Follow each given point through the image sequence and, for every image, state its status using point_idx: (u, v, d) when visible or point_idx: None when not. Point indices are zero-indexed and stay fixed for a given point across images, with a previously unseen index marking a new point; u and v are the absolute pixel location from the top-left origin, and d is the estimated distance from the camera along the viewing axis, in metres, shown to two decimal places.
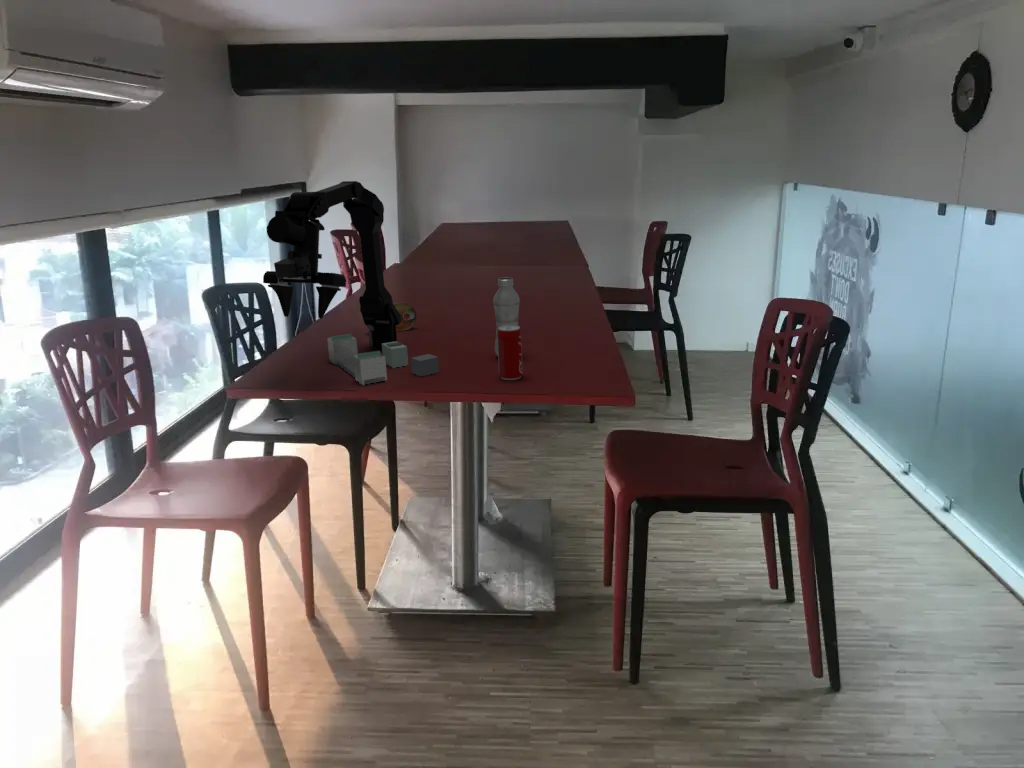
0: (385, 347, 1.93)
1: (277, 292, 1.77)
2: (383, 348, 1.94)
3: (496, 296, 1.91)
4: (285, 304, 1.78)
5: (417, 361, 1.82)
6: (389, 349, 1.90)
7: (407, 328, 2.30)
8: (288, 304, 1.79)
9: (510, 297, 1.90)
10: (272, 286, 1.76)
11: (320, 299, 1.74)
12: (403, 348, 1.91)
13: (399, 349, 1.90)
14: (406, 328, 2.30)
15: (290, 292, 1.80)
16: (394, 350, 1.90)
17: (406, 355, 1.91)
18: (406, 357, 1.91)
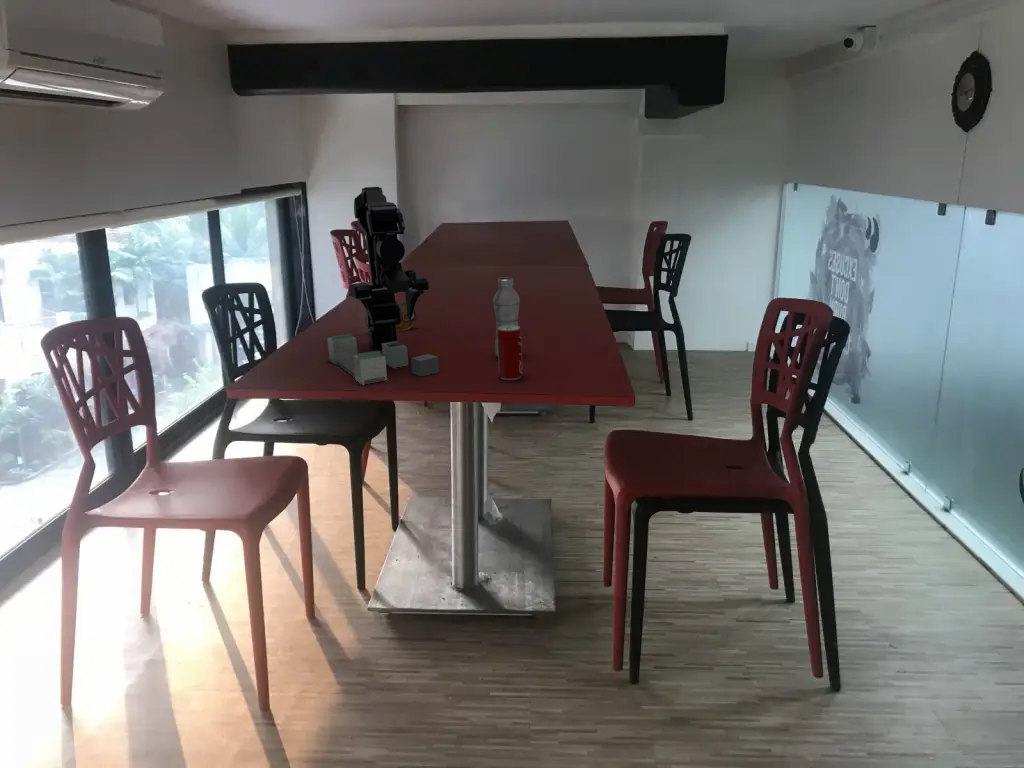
0: (385, 347, 1.93)
1: (368, 304, 1.86)
2: (383, 348, 1.94)
3: (496, 296, 1.91)
4: None
5: (417, 361, 1.82)
6: (389, 349, 1.90)
7: (407, 328, 2.30)
8: None
9: (510, 297, 1.90)
10: (367, 300, 1.84)
11: (413, 303, 1.91)
12: (403, 348, 1.91)
13: (399, 349, 1.90)
14: (406, 328, 2.30)
15: None
16: (394, 350, 1.89)
17: (406, 355, 1.91)
18: (406, 357, 1.91)
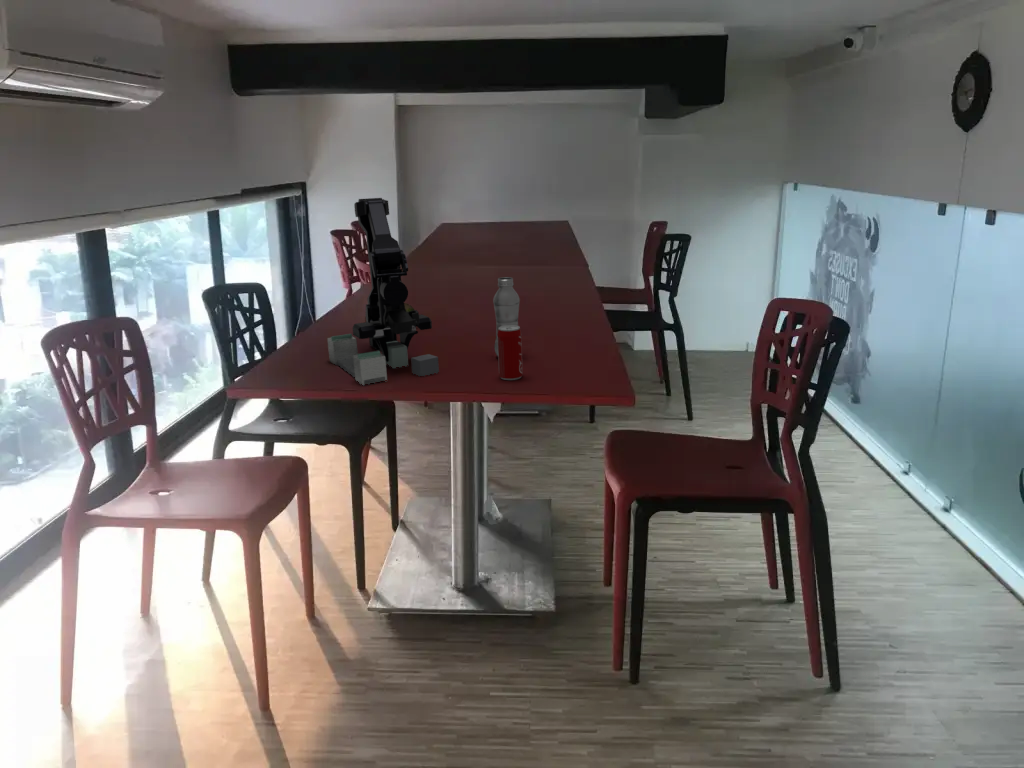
0: None
1: (382, 342, 1.89)
2: None
3: (496, 296, 1.91)
4: None
5: (417, 361, 1.82)
6: (389, 349, 1.90)
7: None
8: None
9: (510, 297, 1.90)
10: (381, 338, 1.88)
11: (407, 343, 1.93)
12: (403, 348, 1.90)
13: (399, 349, 1.90)
14: None
15: None
16: (394, 350, 1.89)
17: (406, 355, 1.91)
18: (406, 357, 1.91)
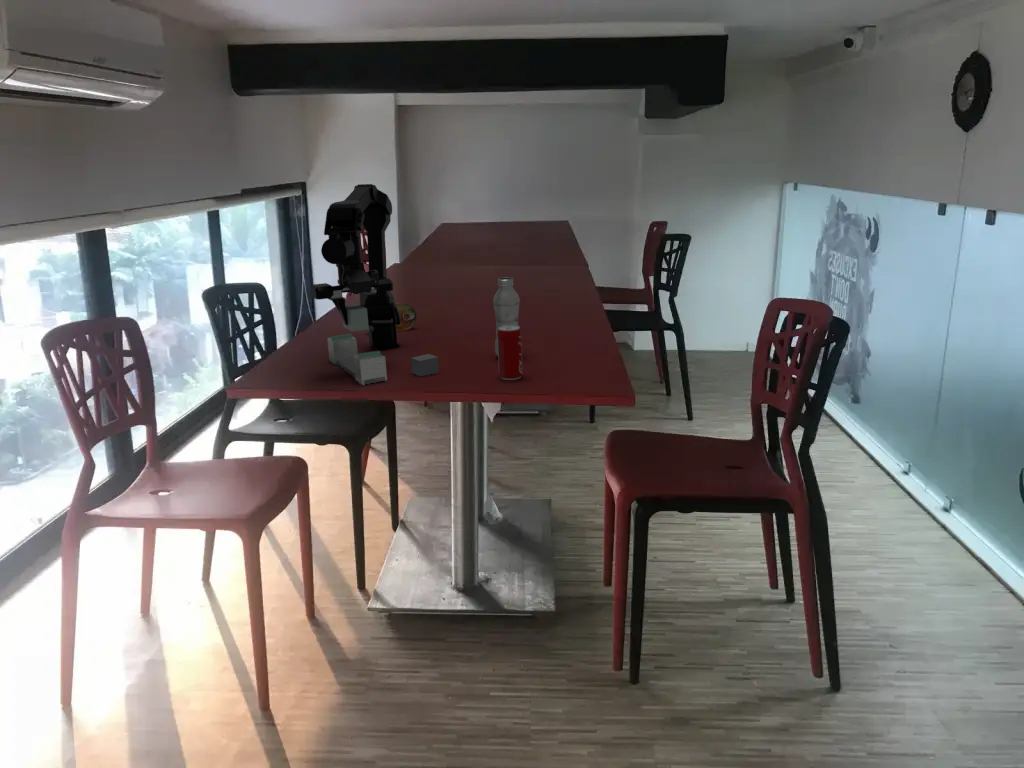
0: None
1: (340, 304, 1.82)
2: None
3: (496, 296, 1.91)
4: None
5: (417, 361, 1.82)
6: (348, 311, 1.83)
7: (407, 328, 2.30)
8: None
9: (510, 297, 1.90)
10: (339, 300, 1.80)
11: (367, 305, 1.86)
12: (363, 310, 1.83)
13: (358, 311, 1.82)
14: (406, 328, 2.30)
15: None
16: (353, 312, 1.82)
17: (366, 317, 1.84)
18: (366, 319, 1.84)
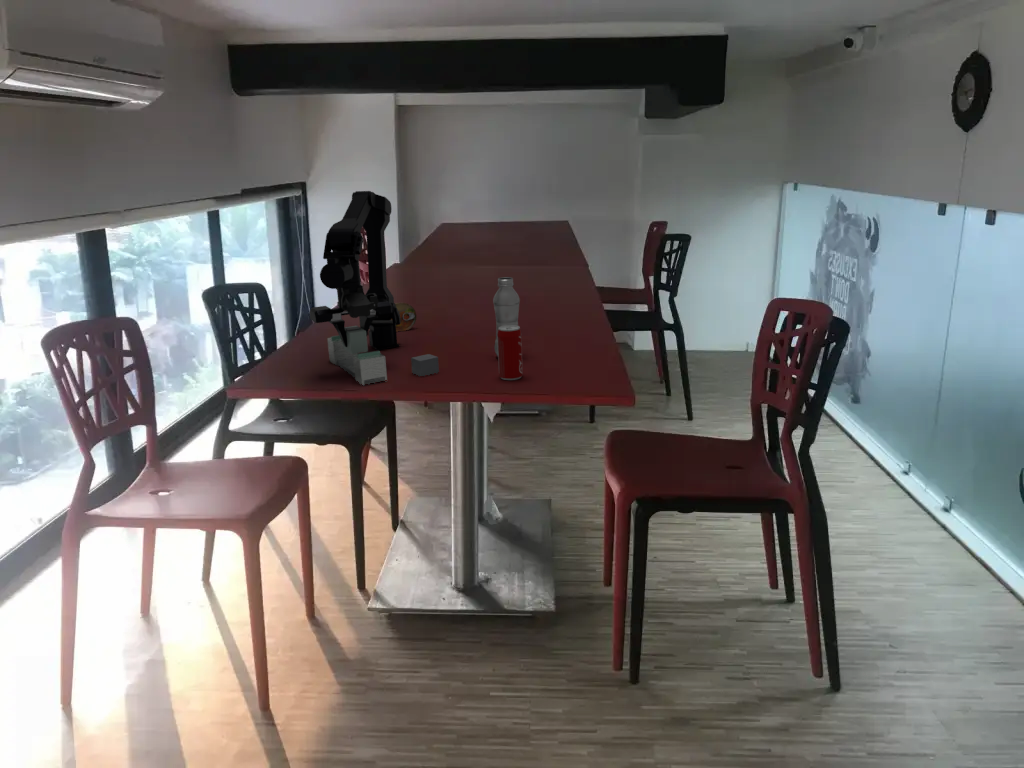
0: None
1: (340, 327, 1.83)
2: None
3: (496, 296, 1.91)
4: None
5: (417, 361, 1.82)
6: (347, 333, 1.84)
7: (407, 328, 2.30)
8: None
9: (510, 297, 1.90)
10: (338, 323, 1.82)
11: (366, 327, 1.87)
12: (362, 332, 1.84)
13: (358, 333, 1.84)
14: (406, 328, 2.30)
15: None
16: (352, 334, 1.83)
17: (365, 339, 1.85)
18: (365, 342, 1.85)
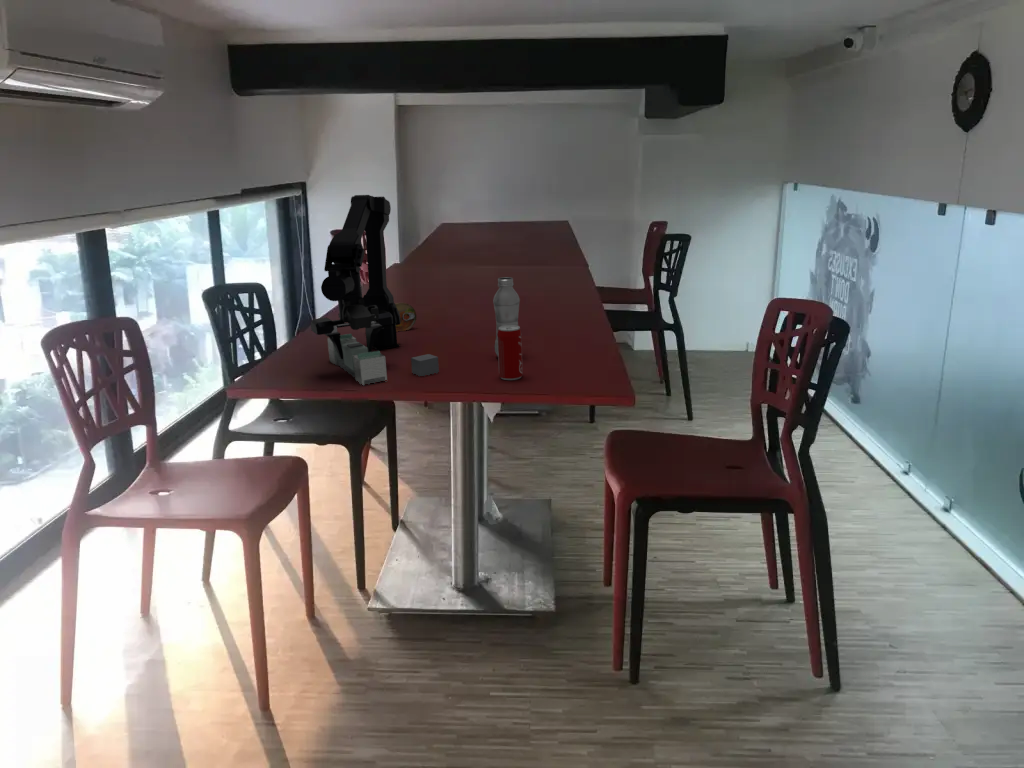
0: (345, 348, 1.88)
1: (335, 339, 1.84)
2: (343, 349, 1.90)
3: (496, 296, 1.91)
4: None
5: (417, 361, 1.82)
6: (349, 350, 1.86)
7: (407, 328, 2.30)
8: None
9: (510, 297, 1.90)
10: (334, 335, 1.82)
11: (372, 338, 1.88)
12: (363, 349, 1.86)
13: (359, 350, 1.85)
14: (406, 328, 2.30)
15: None
16: (354, 351, 1.85)
17: None
18: None
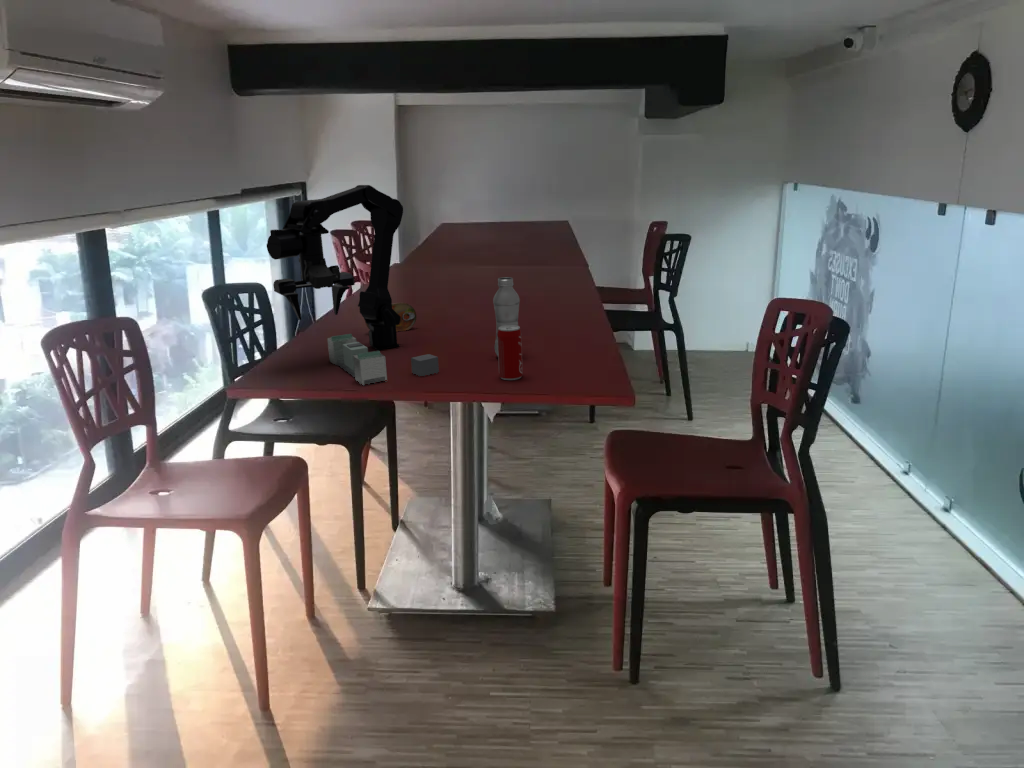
0: (345, 348, 1.88)
1: (293, 300, 1.88)
2: (343, 349, 1.90)
3: (496, 296, 1.91)
4: None
5: (417, 361, 1.82)
6: (349, 350, 1.86)
7: (407, 328, 2.30)
8: None
9: (510, 297, 1.90)
10: (292, 295, 1.86)
11: (338, 298, 1.94)
12: (363, 349, 1.86)
13: (359, 350, 1.85)
14: (406, 328, 2.30)
15: None
16: (354, 351, 1.85)
17: None
18: None
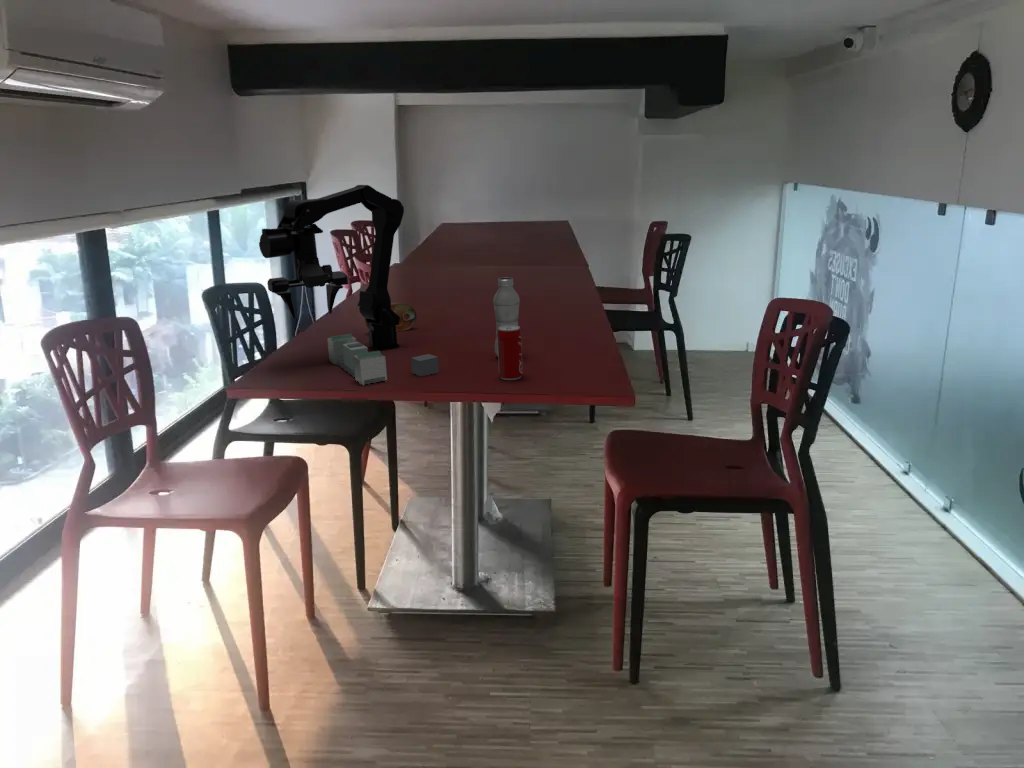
0: (345, 348, 1.88)
1: (286, 298, 1.90)
2: (343, 349, 1.90)
3: (496, 296, 1.91)
4: None
5: (417, 361, 1.82)
6: (349, 350, 1.86)
7: (407, 328, 2.30)
8: None
9: (510, 297, 1.90)
10: (285, 294, 1.88)
11: (332, 297, 1.95)
12: (363, 349, 1.86)
13: (359, 350, 1.85)
14: (406, 328, 2.30)
15: None
16: (354, 351, 1.85)
17: None
18: None
